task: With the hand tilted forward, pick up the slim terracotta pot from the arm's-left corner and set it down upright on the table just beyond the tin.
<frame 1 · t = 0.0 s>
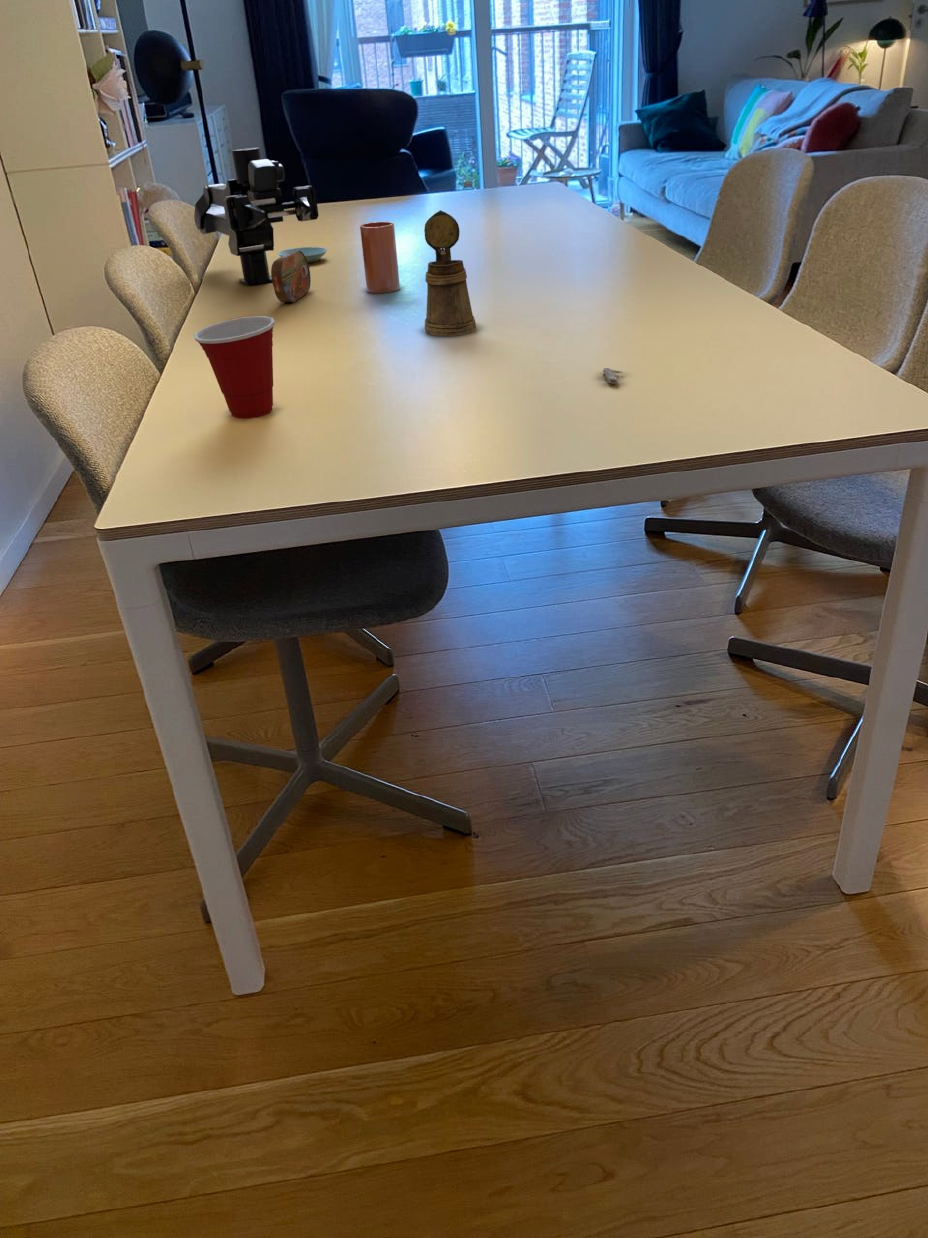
hand: (287, 212, 175), 17 cm above the table, tool horizontal, fingers open, 9 cm apart
plastic cup: (250, 413, 126), on the table
tin: (294, 298, 186), on the table
wooden mug: (450, 327, 159), on the table
pot: (383, 289, 188), on the table
saucer: (304, 261, 220), on the table
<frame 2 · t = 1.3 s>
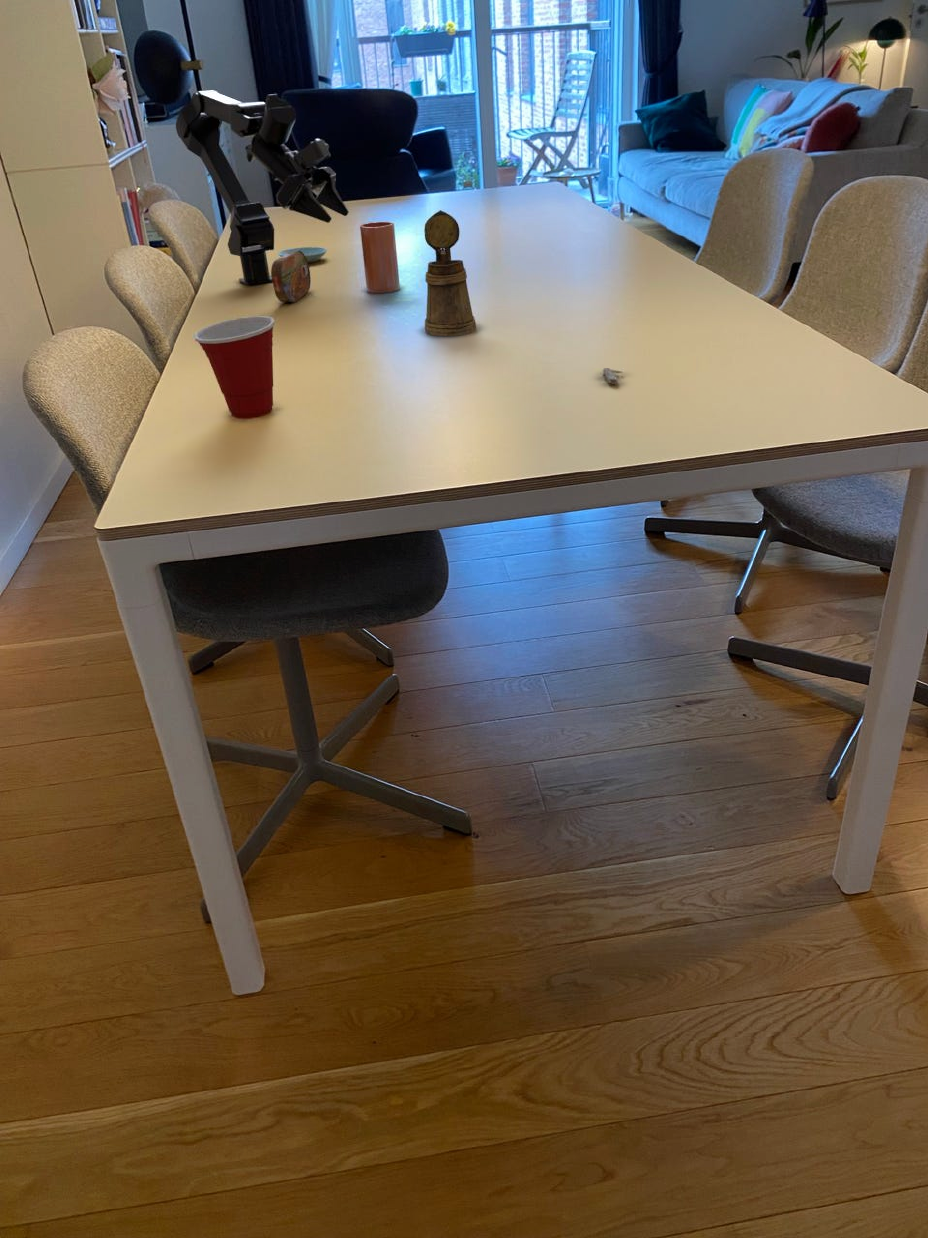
hand: (338, 217, 182), 14 cm above the table, tool tilted 45°, fingers open, 9 cm apart
nothing on the table moved.
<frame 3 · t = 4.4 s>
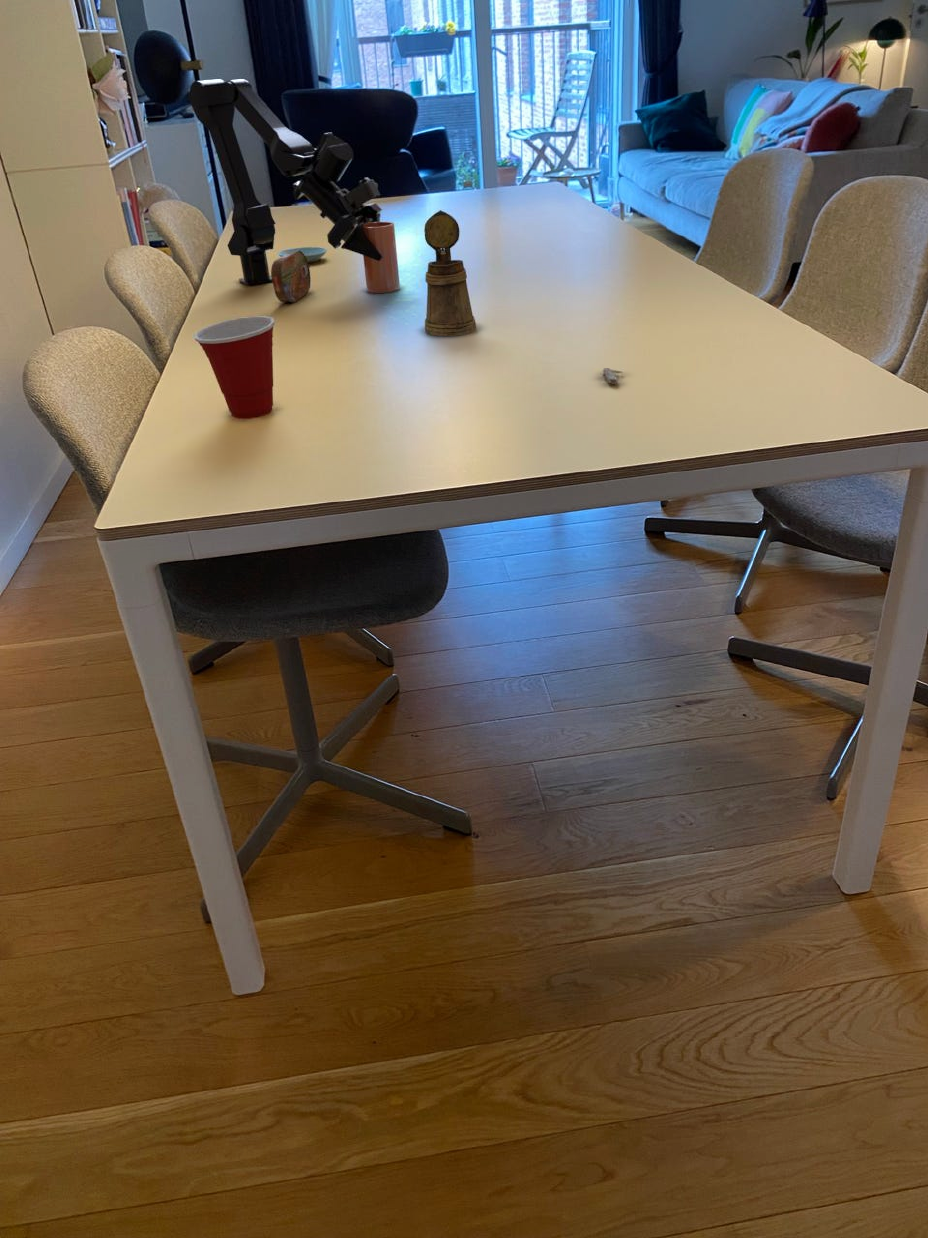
hand: (386, 255, 184), 7 cm above the table, tool tilted 45°, fingers closed on pot, 7 cm apart
pot: (383, 289, 188), on the table, touching gripper
everything else where it was.
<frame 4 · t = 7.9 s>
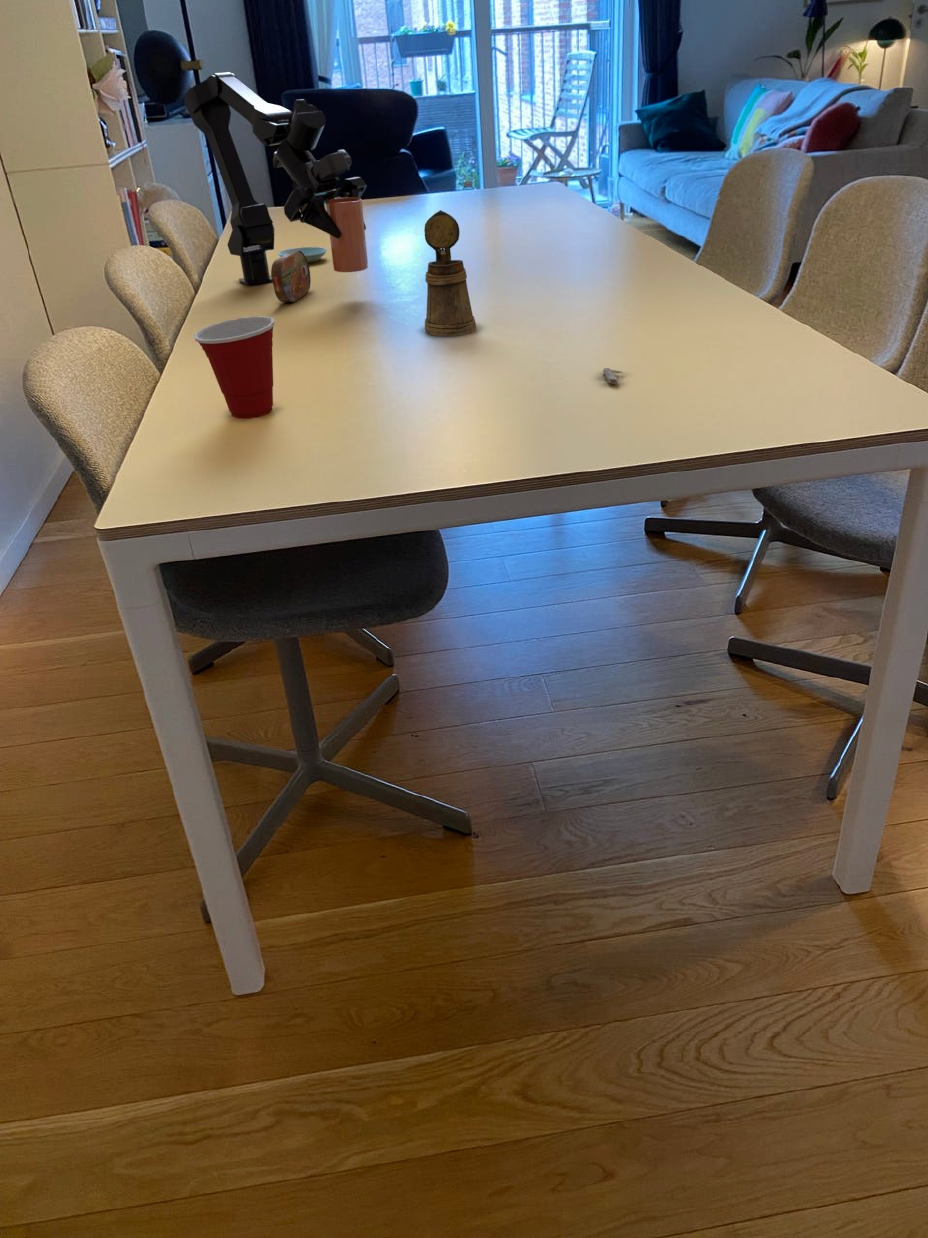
hand: (352, 233, 176), 12 cm above the table, tool tilted 45°, fingers closed on pot, 7 cm apart
pot: (350, 268, 180), point 6 cm above the table, touching gripper
everything else where it was.
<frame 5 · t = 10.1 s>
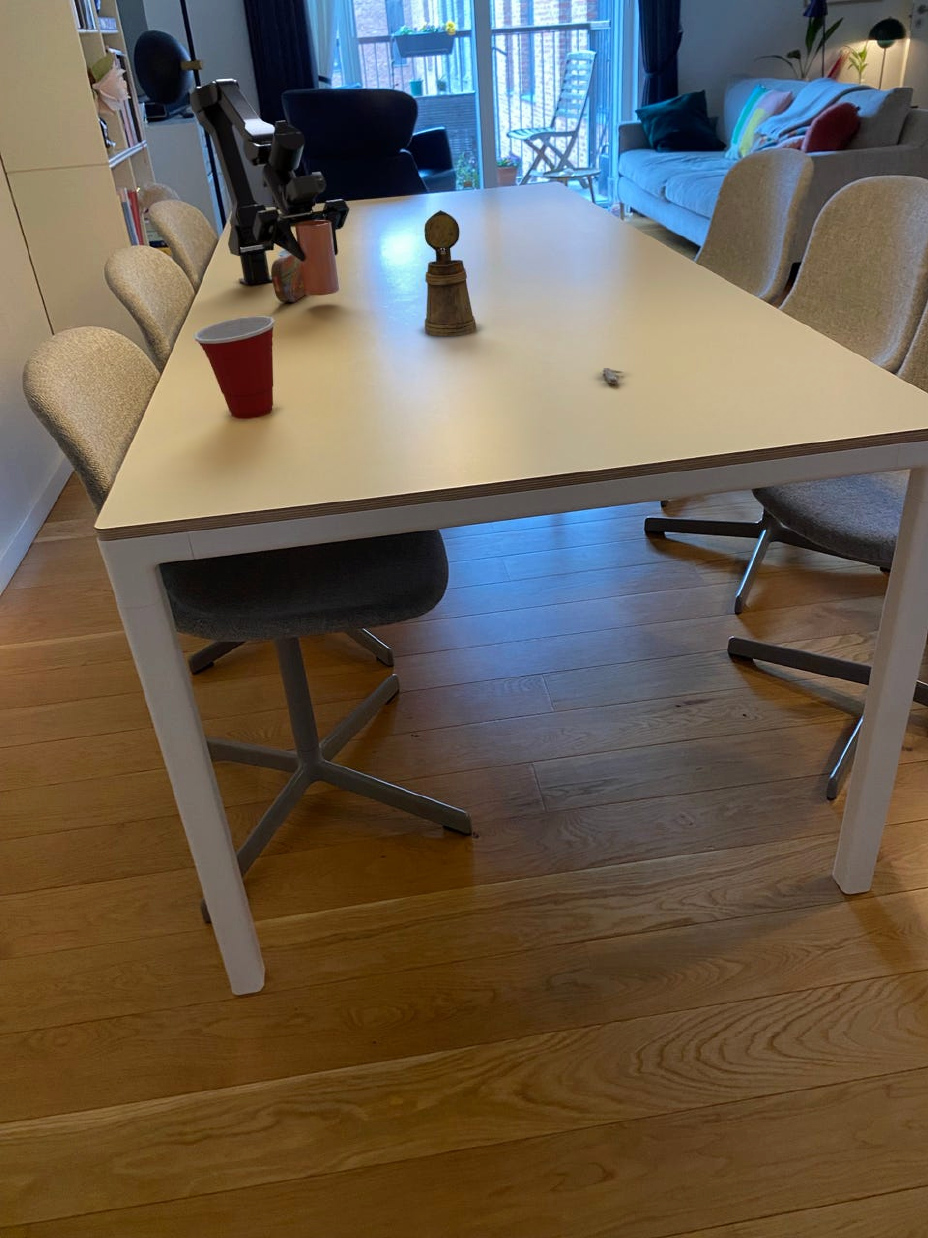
hand: (320, 256, 173), 9 cm above the table, tool tilted 45°, fingers closed on pot, 7 cm apart
pot: (321, 291, 178), point 3 cm above the table, touching gripper
everything else where it was.
when the fingers open (7 cm above the table, at t = 11.5 s): pot stays where it is, on the table.
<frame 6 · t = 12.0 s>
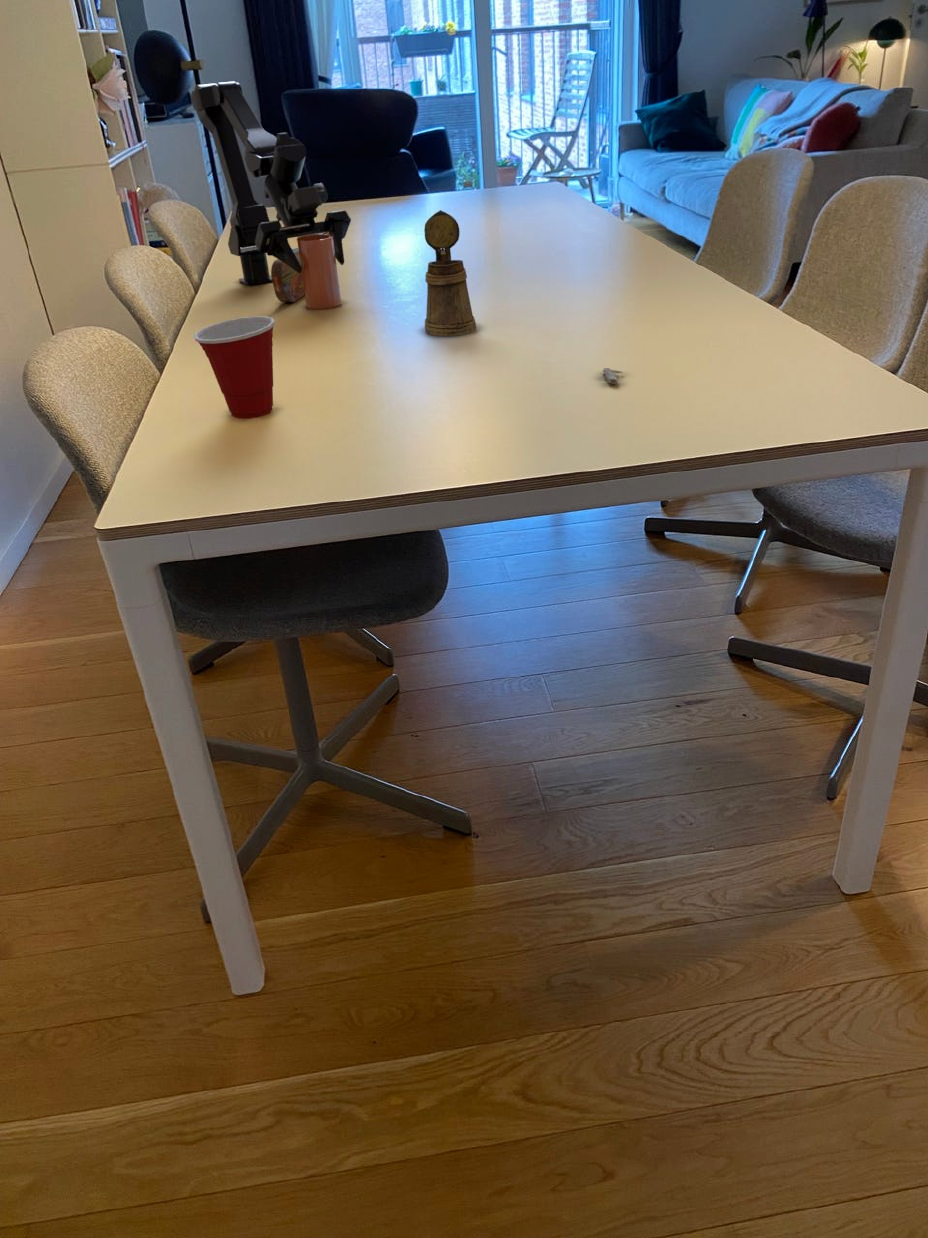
hand: (322, 267, 174), 7 cm above the table, tool tilted 45°, fingers open, 9 cm apart
pot: (323, 304, 179), on the table
everything else where it was.
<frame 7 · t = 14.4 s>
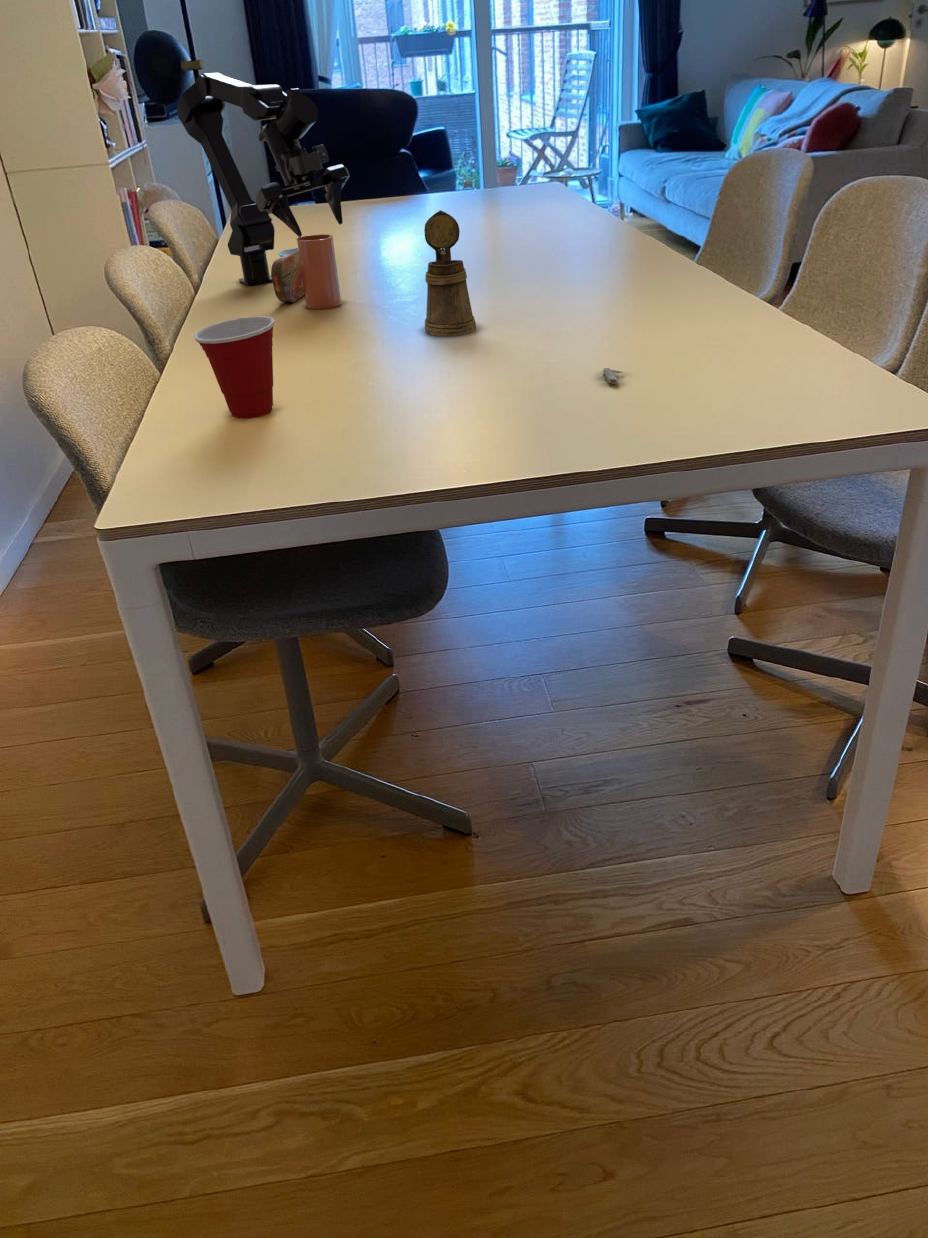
hand: (321, 229, 180), 12 cm above the table, tool tilted 30°, fingers open, 9 cm apart
nothing on the table moved.
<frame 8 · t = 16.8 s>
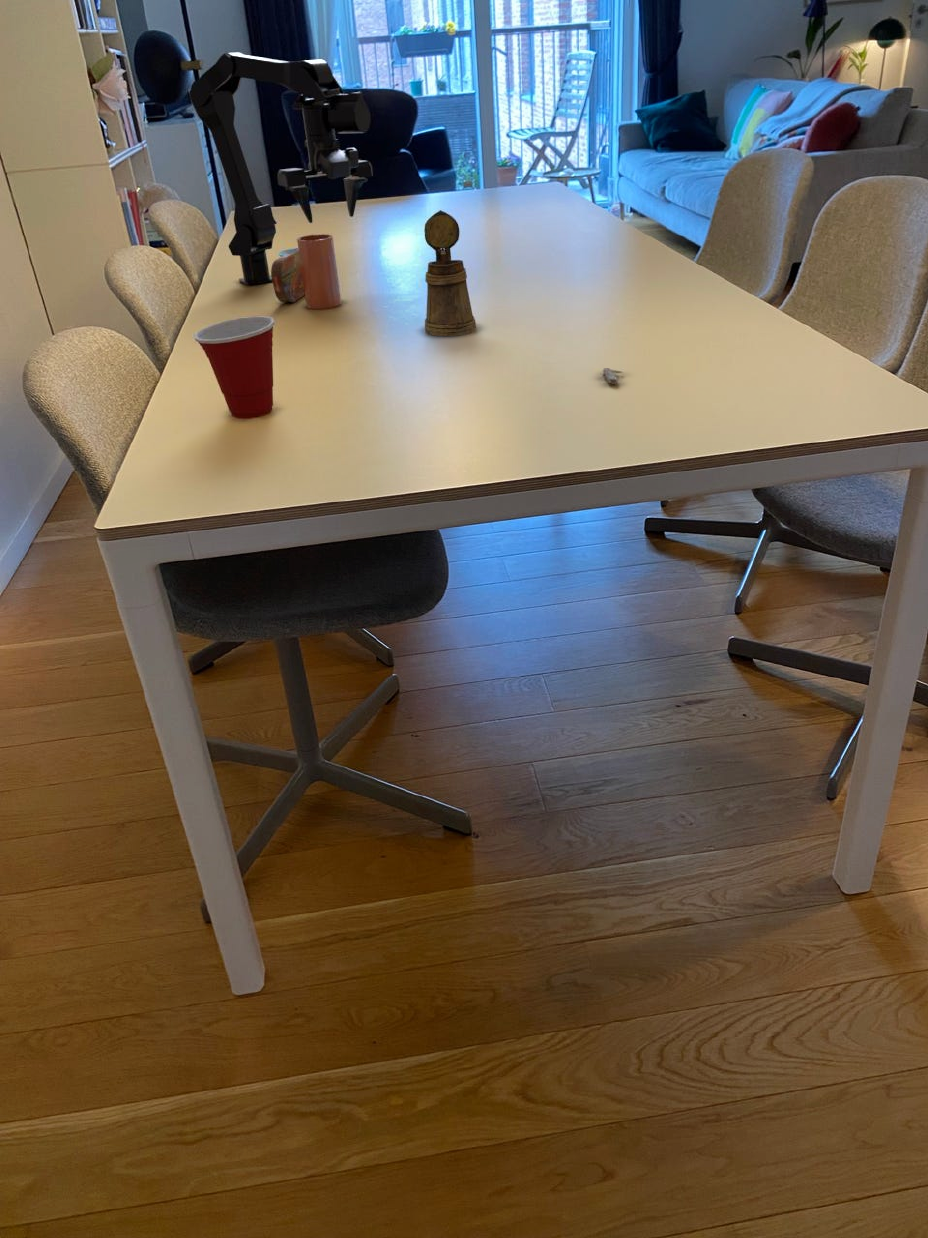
hand: (331, 219, 187), 13 cm above the table, tool pointing down, fingers open, 9 cm apart
nothing on the table moved.
at the end: pot inside the target area on the table beside the tin (0.5 cm from its centre), on the table; pot tilted 0°; tin moved 0.2 cm from its start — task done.
